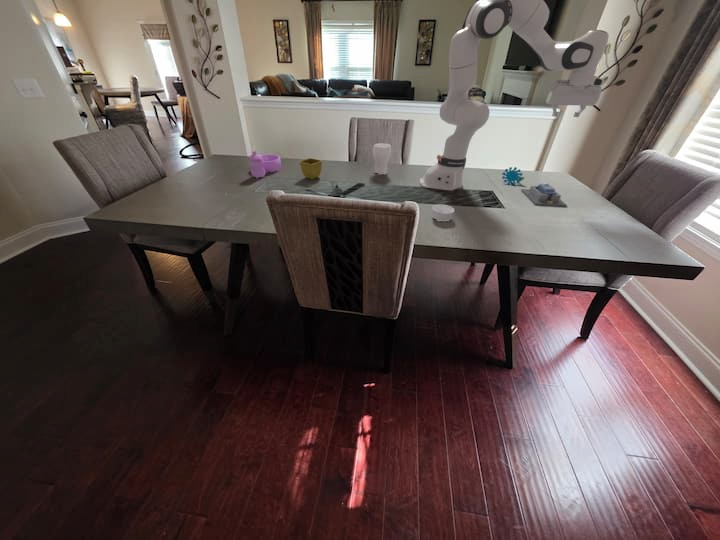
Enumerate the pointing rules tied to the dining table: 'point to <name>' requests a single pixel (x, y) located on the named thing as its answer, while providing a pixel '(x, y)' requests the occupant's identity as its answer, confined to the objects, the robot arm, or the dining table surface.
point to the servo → (546, 189)
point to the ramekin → (442, 212)
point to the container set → (264, 164)
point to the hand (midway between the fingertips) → (565, 116)
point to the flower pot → (311, 167)
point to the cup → (381, 157)
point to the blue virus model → (512, 176)
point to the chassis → (543, 197)
